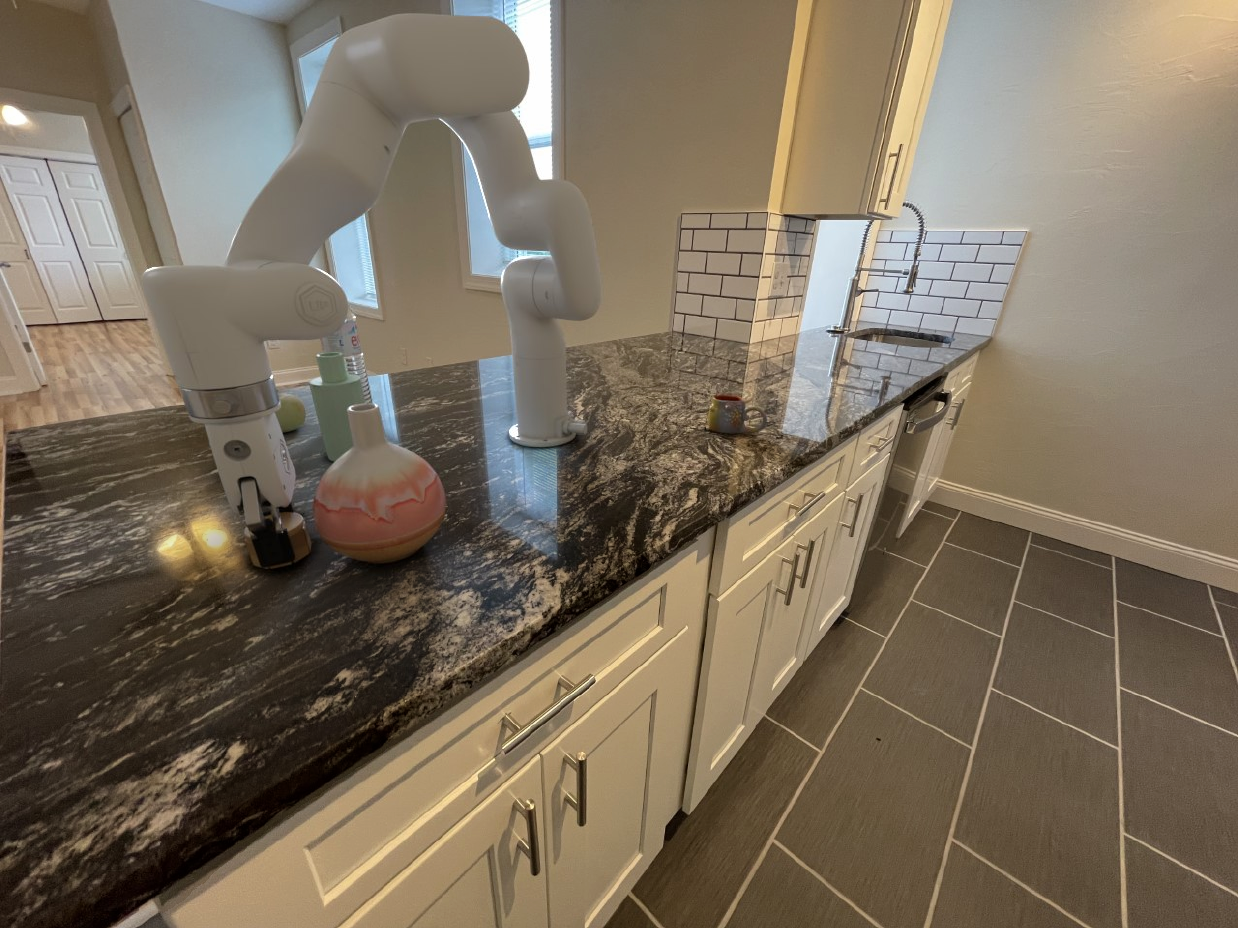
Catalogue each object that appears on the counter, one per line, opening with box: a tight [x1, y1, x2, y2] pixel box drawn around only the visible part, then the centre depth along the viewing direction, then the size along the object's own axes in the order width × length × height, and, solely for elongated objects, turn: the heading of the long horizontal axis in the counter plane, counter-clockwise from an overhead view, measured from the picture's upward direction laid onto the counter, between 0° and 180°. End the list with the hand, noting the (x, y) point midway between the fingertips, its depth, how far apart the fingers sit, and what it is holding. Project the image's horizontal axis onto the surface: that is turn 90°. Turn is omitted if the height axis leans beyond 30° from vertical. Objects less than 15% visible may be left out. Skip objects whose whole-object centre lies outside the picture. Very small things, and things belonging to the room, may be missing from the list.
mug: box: [706, 394, 768, 435], centre depth 95 cm, size 12×7×7 cm, turn 50°
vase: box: [312, 403, 447, 565], centre depth 54 cm, size 14×14×18 cm
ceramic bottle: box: [308, 352, 365, 463], centre depth 79 cm, size 7×7×17 cm
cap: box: [243, 512, 312, 570], centre depth 55 cm, size 6×6×4 cm
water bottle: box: [319, 305, 374, 404], centre depth 94 cm, size 7×7×25 cm
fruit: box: [275, 389, 307, 433], centre depth 91 cm, size 8×7×8 cm
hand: (281, 547), depth 56 cm, fingers closed on cap, 5 cm apart
